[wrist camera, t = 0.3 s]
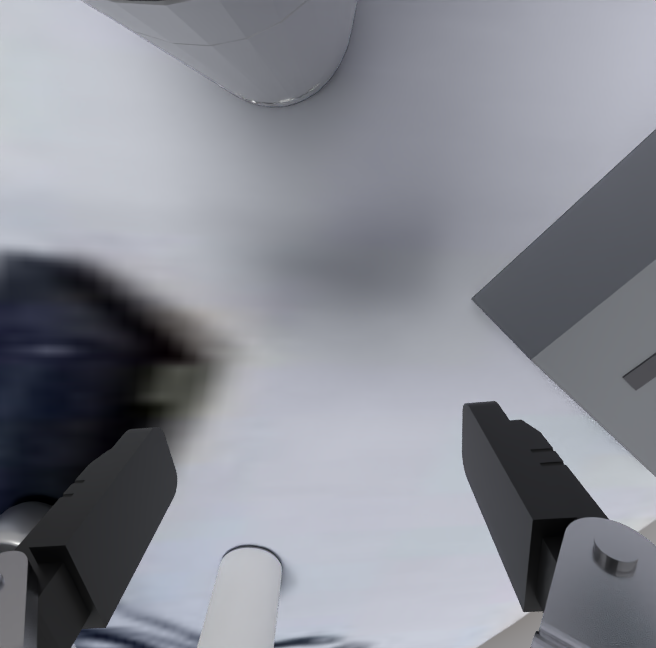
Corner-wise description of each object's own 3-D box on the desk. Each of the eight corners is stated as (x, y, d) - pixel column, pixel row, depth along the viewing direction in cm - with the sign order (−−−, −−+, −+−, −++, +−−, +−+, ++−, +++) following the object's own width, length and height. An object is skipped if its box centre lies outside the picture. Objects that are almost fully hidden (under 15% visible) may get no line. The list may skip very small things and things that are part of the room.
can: (292, 555, 39) (278, 711, 28) (268, 590, 42) (246, 747, 31) (233, 536, 38) (194, 690, 27) (212, 573, 41) (168, 729, 30)
